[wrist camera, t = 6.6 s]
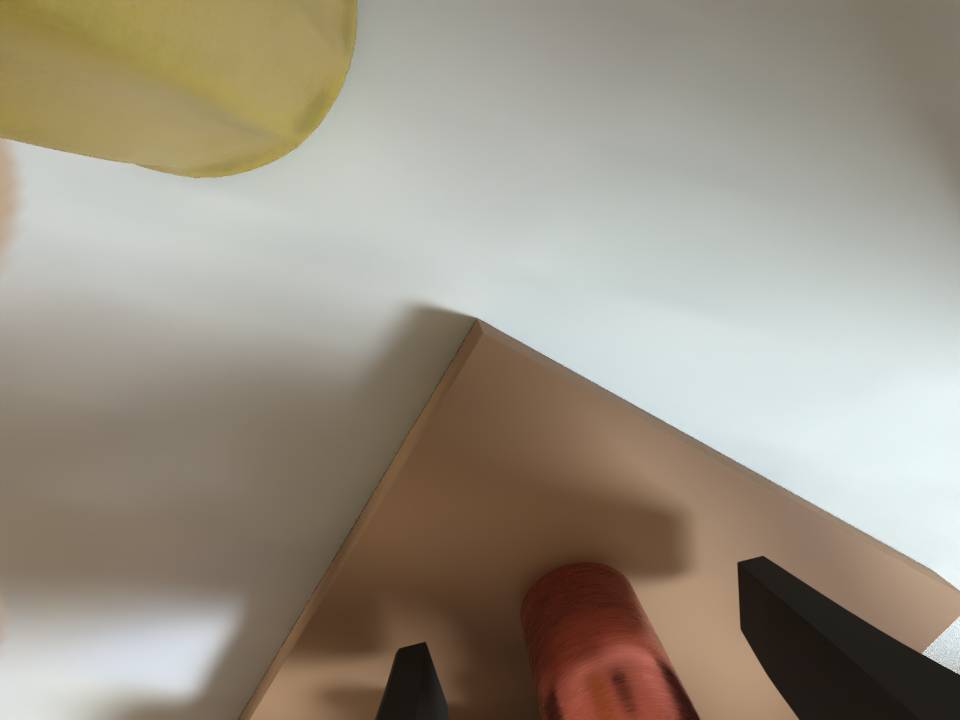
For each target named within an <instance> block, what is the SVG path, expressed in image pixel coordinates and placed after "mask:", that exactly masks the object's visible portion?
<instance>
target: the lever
mask: <svg viewBox="0 0 960 720" xmlns="http://www.w3.org/2000/svg"><path fill="white" fill-rule="evenodd" d="M520 623H521V628H522V632H523V637H524V642H525V646H526V651H527V655H528V660H529V665H530V669H531V674H532V678H533V683H534V687H535V692H536V697H537V701H538V706H539V710H540V715H541V720H701V718H700V716H699V715H698V713H697V711H696V709H695V707H694V705H693V703H692V701H691V699H690V697H689V695H688V693H687V691H686V689H685V688H684V686H683V684H682V682H681V680H680V678H679V676H678V674H677V672H676V670H675V668H674V666H673V664H672V662H671V661H670V659H669V657H668V655H667V653H666V651H665V649H664V647H663V645H662V643H661V641H660V639H659V637H658V635H657V634H656V632H655V630H654V628H653V626H652V624H651V622H650V620H649V618H648V616H647V614H646V612H645V610H644V608H643V607H642V605H641V603H640V601H639V599H638V597H637V595H636V593H635V591H634V589H633V587H632V585H631V584H630V582H629V580H628V579H627V578H626V577H625V576H624V575H623V574H622V573H621V572H619V571H618V570H616V569H614V568H612V567H610V566H608V565H604V564H600V563H594V562H581V563H574V564H569V565H566V566H562V567H560V568H557V569H555V570H553V571H551V572H549V573H548V574H546V575H545V576H543V577H542V578H540V579H539V580H538V581H537V582H536V583H535V584H534V585H533V586H532V587H531V588H530V590H529V591H528V593H527V594H526V596H525V598H524V600H523V603H522V605H521V610H520Z"/></svg>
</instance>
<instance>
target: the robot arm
mask: <svg viewBox="0 0 960 720" xmlns="http://www.w3.org/2000/svg"><path fill="white" fill-rule="evenodd" d="M737 569H738V589H739V610H740V629H741V631H742V633H743V635H744V636H745V638H746V640H747V642H748V643H749V645H750V647H751V649H752V650H753V652H754V654H755V656H756V657H757V659H758V661H759V662H760V664H761V666H762V667H763V669H764V671H765V672H766V674H767V676H768V677H769V679H770V680H771V681H772V683H773V684H774V686H775V687H776V688H777V690H778V691H779V693H780V694H781V695H782V697H783V698H784V700H785V701H786V702H787V704H788V705H789V706H790V708H791V709H792V711H793V712H794V713H795V715H796V716H797V717H798V719H799V720H960V675H959V674H957V673H955V672H953V671H951V670H950V669H948V668H946V667H944V666H942V665H940V664H938V663H937V662H935V661H933V660H931V659H929V658H928V657H926V656H924V655H922V654H921V653H919V652H917V651H915V650H913V649H912V648H910V647H908V646H906V645H905V644H903V643H901V642H899V641H898V640H896V639H894V638H893V637H891V636H889V635H888V634H886V633H884V632H882V631H881V630H879V629H878V628H876V627H874V626H873V625H871V624H869V623H868V622H866V621H864V620H863V619H861V618H860V617H858V616H856V615H855V614H853V613H851V612H850V611H848V610H847V609H845V608H843V607H842V606H840V605H839V604H837V603H836V602H834V601H832V600H831V599H829V598H828V597H826V596H825V595H823V594H821V593H820V592H818V591H817V590H815V589H814V588H812V587H811V586H809V585H808V584H806V583H805V582H803V581H801V580H800V579H798V578H797V577H795V576H794V575H792V574H791V573H789V572H788V571H786V570H785V569H783V568H782V567H780V566H779V565H777V564H775V563H774V562H772V561H771V560H769V559H768V558H766V557H765V556H760V557H756V558H752V559H748V560H744V561H740V562H737ZM375 720H449V715H448V705H447V702H446V699H445V696H444V693H443V690H442V687H441V684H440V682H439V679H438V676H437V673H436V670H435V667H434V664H433V661H432V658H431V655H430V652H429V649H428V646H427V643H426V642H422V643H418V644H414V645H410V646H406V647H402V648H399V649H398V651H397V652H396V654H395V657H394V661H393V664H392V668H391V671H390V675H389V678H388V681H387V685H386V688H385V691H384V694H383V697H382V700H381V703H380V706H379V709H378V712H377V715H376V718H375Z"/></svg>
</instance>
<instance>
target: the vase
mask: <svg viewBox="0 0 960 720" xmlns="http://www.w3.org/2000/svg"><path fill="white" fill-rule="evenodd" d="M356 25H357V0H0V138H5V139H10V140H15V141H19V142H23V143H27V144H32V145H36V146H41V147H45V148H50V149H54V150H59V151H64V152H69V153H74V154H79V155H84V156H90V157H95V158H100V159H105V160H110V161H116V162H124V163H133V164H136V165H139V166H142V167H145V168H149V169H152V170H156V171H160V172H164V173H171V174H175V175H179V176H186V177H193V178H201V177H222V176H228V175H234V174H238V173H242V172H246V171H250V170H252V169H255V168H258V167H261V166H263V165H266V164H268V163H270V162H273V161H275V160H277V159H279V158H281V157H283V156H284V155H286V154H287V153H289V152H290V151H292V150H293V149H295V148H297V147H298V146H299V145H300V144H301V143H302V142H303V141H304V140H305V139H306V138H307V137H308V136H309V135H310V134H311V133H312V132H313V131H314V130H315V129H316V127H317V126H318V125H319V124H320V123H321V121H322V120H323V118H324V117H325V115H326V114H327V112H328V111H329V109H330V108H331V106H332V104H333V102H334V101H335V99H336V97H337V96H338V94H339V91H340V89H341V87H342V85H343V82H344V80H345V77H346V74H347V72H348V69H349V66H350V62H351V58H352V54H353V49H354V43H355V37H356Z"/></svg>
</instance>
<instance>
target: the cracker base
mask: <svg viewBox="0 0 960 720" xmlns="http://www.w3.org/2000/svg"><path fill="white" fill-rule="evenodd" d="M760 556H765V557H766V558H768V559H769V560H771V561H772V562H774V563H775V564H777V565H779V566H780V567H782V568H783V569H785V570H786V571H788V572H789V573H791V574H792V575H794V576H795V577H797V578H798V579H800V580H801V581H803V582H805V583H806V584H808V585H809V586H811V587H812V588H814V589H815V590H817V591H818V592H820V593H821V594H823V595H825V596H826V597H828V598H829V599H831V600H832V601H834V602H836V603H837V604H839V605H840V606H842V607H843V608H845V609H847V610H848V611H850V612H851V613H853V614H855V615H856V616H858V617H860V618H861V619H863V620H864V621H866V622H868V623H869V624H871V625H873V626H874V627H876V628H878V629H879V630H881V631H882V632H884V633H886V634H888V635H889V636H891V637H893V638H894V639H896V640H898V641H899V642H901V643H903V644H905V645H906V646H908V647H910V648H912V649H913V650H915V651H917V652H919V653H922V652H923V651H924V650H925V649H926V648H927V647H928V646H929V645H930V644H931V643H932V642H933V641H934V640H935V639H936V638H937V637H938V636H940V635H941V634H942V633H943V632H944V631H945V630H946V629H947V628H948V627H949V626H950V625H951V624H952V623H953V622H954V621H955V620H956V619H957V618H958V617H959V616H960V591H959V590H958V589H957V588H955V587H954V586H953V585H951V584H950V583H949V582H947V581H946V580H945V579H943V578H942V577H941V576H939V575H938V574H937V573H935V572H934V571H933V570H931V569H929V568H927V567H925V566H924V565H922V564H920V563H918V562H916V561H915V560H913V559H911V558H909V557H907V556H905V555H904V554H902V553H900V552H898V551H896V550H895V549H893V548H891V547H889V546H887V545H886V544H884V543H882V542H880V541H878V540H877V539H875V538H873V537H871V536H869V535H868V534H866V533H864V532H862V531H860V530H859V529H857V528H855V527H853V526H851V525H850V524H848V523H846V522H844V521H842V520H841V519H839V518H837V517H835V516H833V515H831V514H830V513H828V512H826V511H824V510H822V509H821V508H819V507H817V506H815V505H813V504H812V503H810V502H808V501H806V500H804V499H803V498H801V497H799V496H797V495H795V494H794V493H792V492H790V491H788V490H786V489H785V488H783V487H781V486H779V485H777V484H776V483H774V482H772V481H770V480H768V479H767V478H765V477H763V476H761V475H759V474H758V473H756V472H754V471H752V470H750V469H748V468H747V467H745V466H743V465H741V464H739V463H738V462H736V461H734V460H732V459H730V458H729V457H727V456H725V455H723V454H721V453H720V452H718V451H716V450H714V449H712V448H711V447H709V446H707V445H705V444H703V443H702V442H700V441H698V440H696V439H694V438H693V437H691V436H689V435H687V434H685V433H684V432H682V431H680V430H678V429H676V428H674V427H673V426H671V425H669V424H667V423H665V422H664V421H662V420H660V419H658V418H656V417H655V416H653V415H651V414H649V413H647V412H646V411H644V410H642V409H640V408H638V407H637V406H635V405H633V404H631V403H629V402H628V401H626V400H624V399H622V398H620V397H619V396H617V395H615V394H613V393H611V392H610V391H608V390H606V389H604V388H602V387H600V386H599V385H597V384H595V383H593V382H591V381H590V380H588V379H586V378H584V377H582V376H581V375H579V374H577V373H575V372H573V371H572V370H570V369H568V368H566V367H564V366H563V365H561V364H559V363H557V362H555V361H554V360H552V359H550V358H548V357H546V356H545V355H543V354H541V353H539V352H537V351H536V350H534V349H532V348H530V347H528V346H526V345H525V344H523V343H521V342H519V341H517V340H516V339H514V338H512V337H510V336H508V335H507V334H505V333H503V332H501V331H499V330H498V329H496V328H494V327H492V326H490V325H489V324H487V323H485V322H483V321H481V320H480V319H478V318H477V320H476V322H475V323H474V325H473V327H472V328H471V330H470V332H469V333H468V335H467V337H466V338H465V340H464V342H463V343H462V345H461V347H460V348H459V350H458V352H457V353H456V355H455V357H454V359H453V360H452V362H451V364H450V365H449V367H448V369H447V370H446V372H445V374H444V375H443V377H442V379H441V380H440V382H439V384H438V385H437V387H436V389H435V390H434V392H433V394H432V395H431V397H430V399H429V400H428V402H427V404H426V405H425V407H424V409H423V411H422V412H421V414H420V416H419V417H418V419H417V421H416V422H415V424H414V426H413V427H412V429H411V431H410V432H409V434H408V436H407V437H406V439H405V441H404V442H403V444H402V446H401V447H400V449H399V451H398V452H397V454H396V456H395V457H394V459H393V461H392V463H391V464H390V466H389V468H388V469H387V471H386V473H385V474H384V476H383V478H382V479H381V481H380V483H379V484H378V486H377V488H376V489H375V491H374V493H373V494H372V496H371V498H370V499H369V501H368V503H367V504H366V506H365V508H364V509H363V511H362V513H361V515H360V516H359V518H358V520H357V521H356V523H355V525H354V526H353V528H352V530H351V531H350V533H349V535H348V536H347V538H346V540H345V541H344V543H343V545H342V546H341V548H340V550H339V551H338V553H337V555H336V556H335V558H334V560H333V561H332V563H331V565H330V566H329V568H328V570H327V572H326V573H325V575H324V577H323V578H322V580H321V582H320V583H319V585H318V587H317V588H316V590H315V592H314V593H313V595H312V597H311V598H310V600H309V602H308V603H307V605H306V607H305V608H304V610H303V612H302V613H301V615H300V617H299V618H298V620H297V622H296V624H295V625H294V627H293V629H292V630H291V632H290V634H289V635H288V637H287V639H286V640H285V642H284V644H283V645H282V647H281V649H280V650H279V652H278V654H277V655H276V657H275V659H274V660H273V662H272V664H271V665H270V667H269V669H268V670H267V672H266V674H265V676H264V677H263V679H262V681H261V682H260V684H259V686H258V687H257V689H256V691H255V692H254V694H253V696H252V697H251V699H250V701H249V702H248V704H247V706H246V707H245V709H244V711H243V712H242V714H241V716H240V717H239V719H238V720H375V718H376V715H377V712H378V709H379V706H380V703H381V700H382V697H383V694H384V691H385V688H386V685H387V681H388V678H389V675H390V671H391V668H392V664H393V661H394V657H395V654H396V652H397V651H398V649H399V648H402V647H406V646H410V645H414V644H418V643H422V642H426V643H427V646H428V649H429V652H430V655H431V658H432V661H433V664H434V667H435V670H436V673H437V676H438V679H439V682H440V684H441V687H442V690H443V693H444V696H445V699H446V702H447V705H448V715H449V720H541V715H540V710H539V706H538V701H537V697H536V692H535V687H534V683H533V678H532V674H531V669H530V665H529V660H528V655H527V651H526V646H525V642H524V637H523V632H522V628H521V623H520V610H521V605H522V603H523V600H524V598H525V596H526V594H527V593H528V591H529V590H530V588H531V587H532V586H533V585H534V584H535V583H536V582H537V581H538V580H539V579H540V578H542V577H543V576H545V575H546V574H548V573H549V572H551V571H553V570H555V569H557V568H560V567H562V566H566V565H569V564H574V563H581V562H594V563H600V564H604V565H608V566H610V567H612V568H614V569H616V570H618V571H619V572H621V573H622V574H623V575H624V576H625V577H626V578H627V579H628V580H629V582H630V584H631V585H632V587H633V589H634V591H635V593H636V595H637V597H638V599H639V601H640V603H641V605H642V607H643V608H644V610H645V612H646V614H647V616H648V618H649V620H650V622H651V624H652V626H653V628H654V630H655V632H656V634H657V635H658V637H659V639H660V641H661V643H662V645H663V647H664V649H665V651H666V653H667V655H668V657H669V659H670V661H671V662H672V664H673V666H674V668H675V670H676V672H677V674H678V676H679V678H680V680H681V682H682V684H683V686H684V688H685V689H686V691H687V693H688V695H689V697H690V699H691V701H692V703H693V705H694V707H695V709H696V711H697V713H698V715H699V716H700V718H701V720H799V719H798V717H797V716H796V715H795V713H794V712H793V711H792V709H791V708H790V706H789V705H788V704H787V702H786V701H785V700H784V698H783V697H782V695H781V694H780V693H779V691H778V690H777V688H776V687H775V686H774V684H773V683H772V681H771V680H770V679H769V677H768V676H767V674H766V672H765V671H764V669H763V667H762V666H761V664H760V662H759V661H758V659H757V657H756V656H755V654H754V652H753V650H752V649H751V647H750V645H749V643H748V642H747V640H746V638H745V636H744V635H743V633H742V631H741V629H740V610H739V589H738V569H737V562H740V561H744V560H748V559H752V558H756V557H760Z"/></svg>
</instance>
